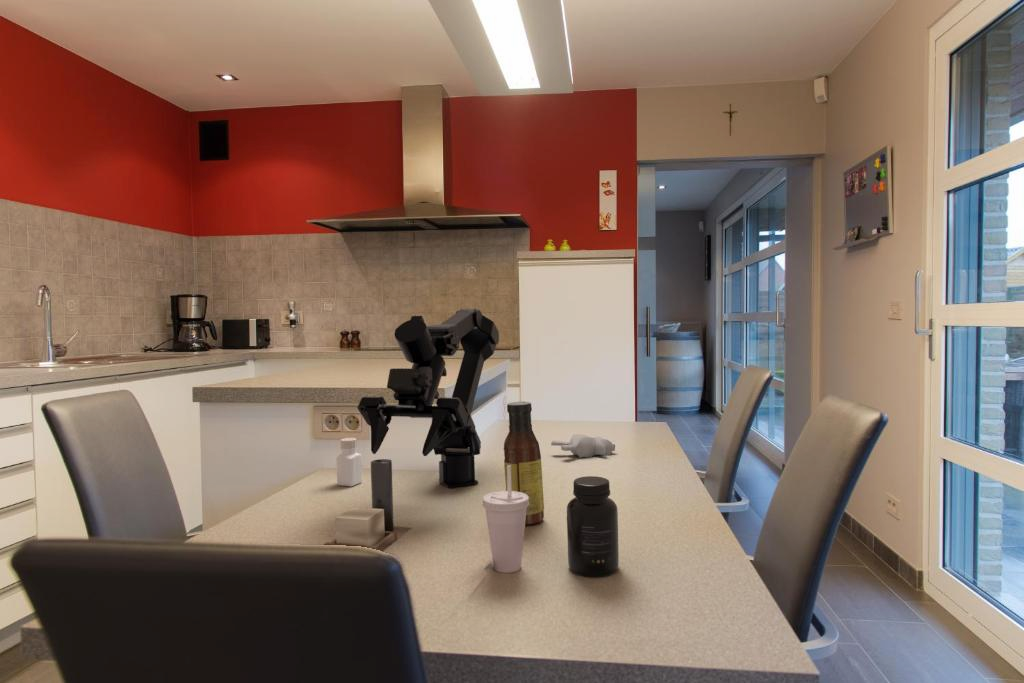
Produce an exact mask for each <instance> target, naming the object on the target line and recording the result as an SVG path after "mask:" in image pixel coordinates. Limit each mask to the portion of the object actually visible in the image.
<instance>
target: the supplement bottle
mask: <svg viewBox="0 0 1024 683" xmlns="http://www.w3.org/2000/svg"><path fill="white" fill-rule="evenodd" d="M572 483H573V484H572V485H573V493H572V494H573V498H572V499H571V500H569V502H568V503H567V506H566V533H567V534H566V535H567V536H566V537H567V563H568V564H567V565H568V567H569V569H570V570H571V572H573V573H574V574H576V575H579V576H581V577H586V578H603V577H608V576H611V575H613V574H615V572H616V571H618V568H619V564H620V563H619V554H620V553H619V552H620V551H619V512H618V506H617V504H616V502H615V501H614V500H613V499H611V498H610V497H609V496H610V495H611V489H610V480H609V479H608V478H605V477H601V476H597V475H596V476H593V475H590V476H589V475H588V476H580V477H576V478H575V479H574V480H573V482H572ZM574 496H575V497H574Z"/></svg>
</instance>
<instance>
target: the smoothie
mask: <svg viewBox="0 0 1024 683" xmlns="http://www.w3.org/2000/svg"><path fill="white" fill-rule="evenodd" d="M507 490H508V491H506V490H500V491H494V492H490V493H487V494H485V495H484V496H483V497H482V504H481V506H482V507H483V508H484V509H485V515H486V523H487V531H488V535H489V536H488V537H489V543H490V550H491V557H492V562H493V569H494V570H495V571H496V572H499V573H504V574H507V573H515V572H518V571H520V570H521V567H522V560H523V550H524V539H525V529H526V528H525V527H526V525H525V520H526V509H527V506H528V505H529V497H528V495H526V494H525V493H522V492H516V491H512V487H511V465H507Z"/></svg>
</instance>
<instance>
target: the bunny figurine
mask: <svg viewBox="0 0 1024 683" xmlns="http://www.w3.org/2000/svg"><path fill="white" fill-rule="evenodd" d="M550 446H557V447H558V446H560V450H562V451H563V452H571V454H573V456H574V457H575V456H577V457H578V458H579V459H582V458H592V457H593V456H598V455H600V456H603V457H605V456H609V455H611V454H612V452H616V444H614V443H613V442H612V441H610V440H609V439H605V438H603V437H601V436H595V437H592V436H589V435H585V434H573V435H572V437H570V440H569V441H563V440H556V439H555V440H554V439H553V440H552V441H551V445H550Z"/></svg>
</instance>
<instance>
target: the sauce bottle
mask: <svg viewBox="0 0 1024 683" xmlns="http://www.w3.org/2000/svg"><path fill="white" fill-rule="evenodd" d="M506 408H507V413H508V424H509V425H508V430H509V431H508V433H507V436H506V438H505V439H504V442H503V452H504V453H503V454H504V455H503V457H504V459H503V463H504V464H503V465H504V481H505V491H508V490H507V465H511V487H512V491H516V492H522V493H525V494H526V495H528V497H529V505H528V506H527V509H526V520H525V526H530V525H535V524H539V523H541V522H542V521H543V520H544V518H545V517H544V516H545V515H544V514H545V501H544V499H545V498H544V485H543V469H542V467H543V466H542V454H541V450H540V444H539V441H538V439H537V437H536V435H535V433H534V430H533V424H532V403H531V402H530V401H513V402H508V403H507V407H506Z"/></svg>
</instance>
